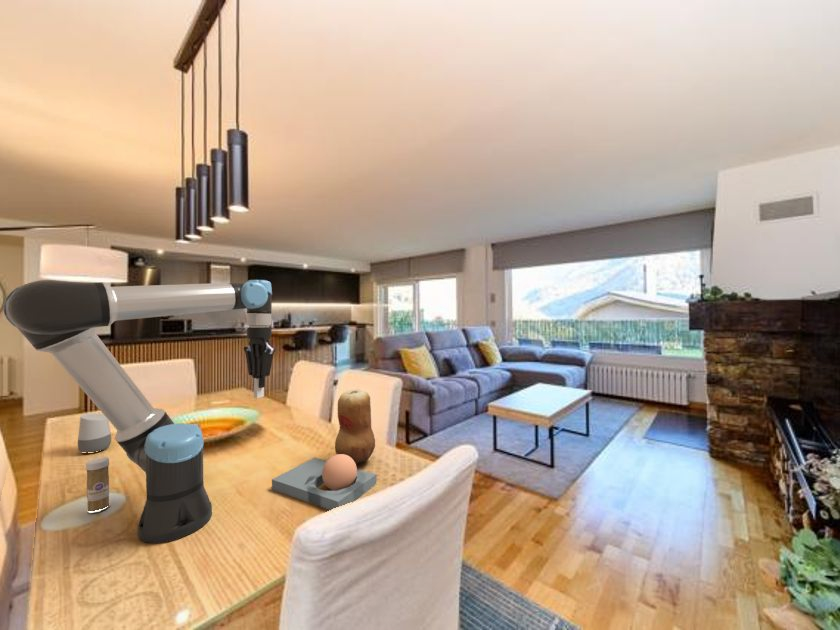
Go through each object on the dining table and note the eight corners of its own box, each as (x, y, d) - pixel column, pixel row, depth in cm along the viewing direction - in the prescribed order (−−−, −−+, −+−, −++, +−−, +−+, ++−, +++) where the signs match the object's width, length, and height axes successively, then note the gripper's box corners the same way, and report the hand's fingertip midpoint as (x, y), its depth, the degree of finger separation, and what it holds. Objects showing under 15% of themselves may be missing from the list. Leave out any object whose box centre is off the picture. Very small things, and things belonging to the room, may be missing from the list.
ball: (309, 474, 102) (330, 499, 104) (326, 472, 96) (347, 499, 97) (332, 448, 109) (351, 472, 111) (349, 445, 103) (369, 470, 104)
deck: (272, 489, 103) (271, 479, 103) (314, 466, 118) (314, 457, 118) (338, 513, 91) (338, 501, 91) (376, 484, 106) (376, 474, 106)
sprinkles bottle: (91, 516, 90) (90, 464, 90) (83, 511, 92) (82, 461, 92) (113, 507, 94) (112, 458, 94) (105, 503, 96) (104, 454, 96)
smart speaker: (106, 453, 130) (105, 415, 130) (73, 457, 126) (72, 419, 126) (115, 444, 139) (114, 409, 138) (84, 448, 135) (83, 412, 134)
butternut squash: (326, 465, 118) (325, 392, 118) (352, 451, 130) (351, 384, 130) (359, 474, 112) (359, 397, 111) (383, 458, 124) (382, 388, 123)
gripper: (282, 326, 117) (281, 397, 117) (256, 325, 123) (255, 392, 123) (262, 327, 111) (262, 402, 111) (236, 326, 117) (236, 397, 117)
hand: (259, 397), depth 117 cm, fingers closed
